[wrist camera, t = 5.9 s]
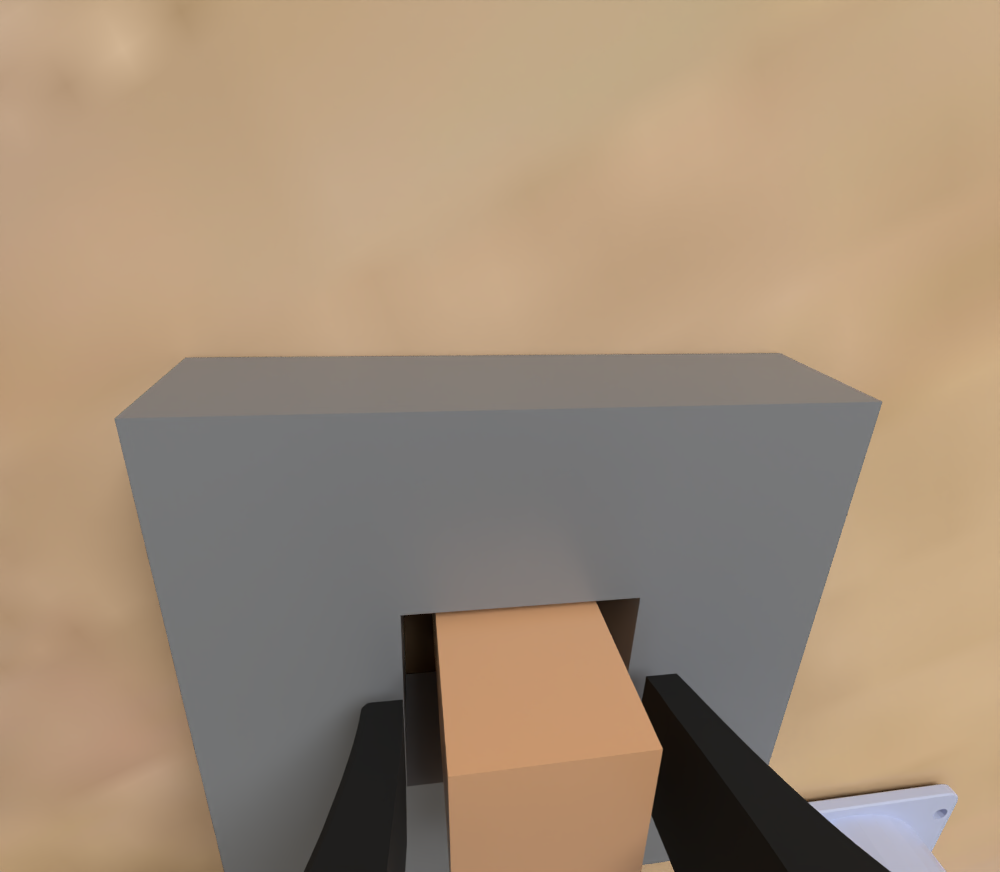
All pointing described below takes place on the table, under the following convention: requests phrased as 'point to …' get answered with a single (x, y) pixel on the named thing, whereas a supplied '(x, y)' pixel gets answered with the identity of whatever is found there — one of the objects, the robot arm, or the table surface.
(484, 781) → the plug peg
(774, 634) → the socket block
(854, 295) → the table surface
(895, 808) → the robot arm
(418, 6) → the table surface
